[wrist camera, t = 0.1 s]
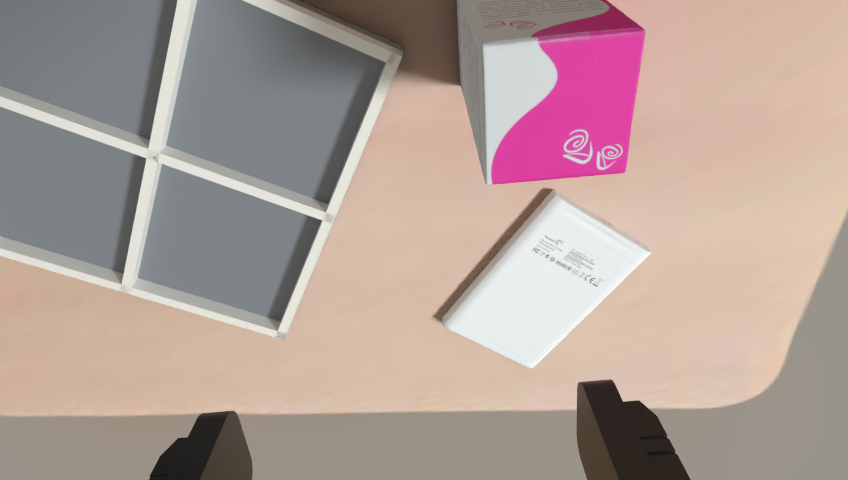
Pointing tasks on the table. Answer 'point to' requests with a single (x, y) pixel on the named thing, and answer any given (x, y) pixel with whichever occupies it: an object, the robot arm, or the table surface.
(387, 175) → the table surface
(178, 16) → the socket board
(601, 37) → the supplement box
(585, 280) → the external hard drive
